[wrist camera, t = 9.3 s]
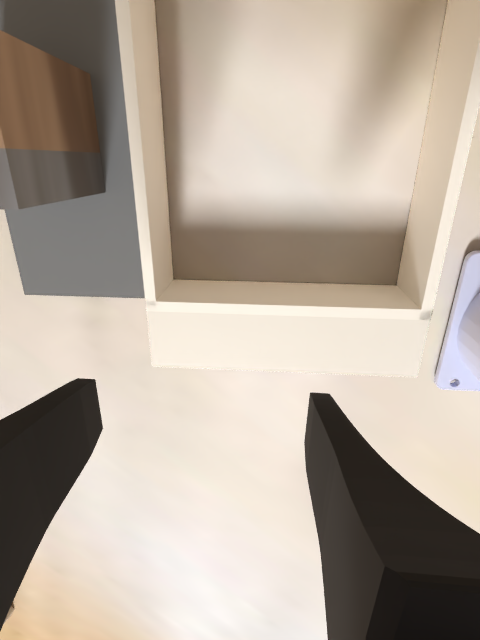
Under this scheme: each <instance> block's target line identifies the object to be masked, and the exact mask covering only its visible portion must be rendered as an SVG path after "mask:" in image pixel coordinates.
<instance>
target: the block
mask: <svg viewBox="0 0 480 640" xmlns="http://www.w3.org/2000/svg"><path fill="white" fill-rule="evenodd" d="M101 193H105V185H104V177H103V170H102V162H101V154H100V147H99V139H98V131H97V124H96V116H95V108H94V101H93V93H92V85H91V78H90V74H89V73H87V72H85V71H83V70H81V69H79V68H77V67H75V66H73V65H71V64H69V63H67V62H65V61H63V60H61V59H59V58H56V57H54V56H52V55H50V54H48V53H46V52H44V51H42V50H40V49H38V48H36V47H34V46H32V45H30V44H28V43H26V42H24V41H22V40H20V39H18V38H16V37H13V36H11V35H9V34H7V33H5V32H3V31H1V30H0V209H18V210H19V209H24V208H29V207H34V206H39V205H44V204H49V203H55V202H60V201H65V200H70V199H75V198H80V197H85V196H90V195H95V194H101Z"/></svg>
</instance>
